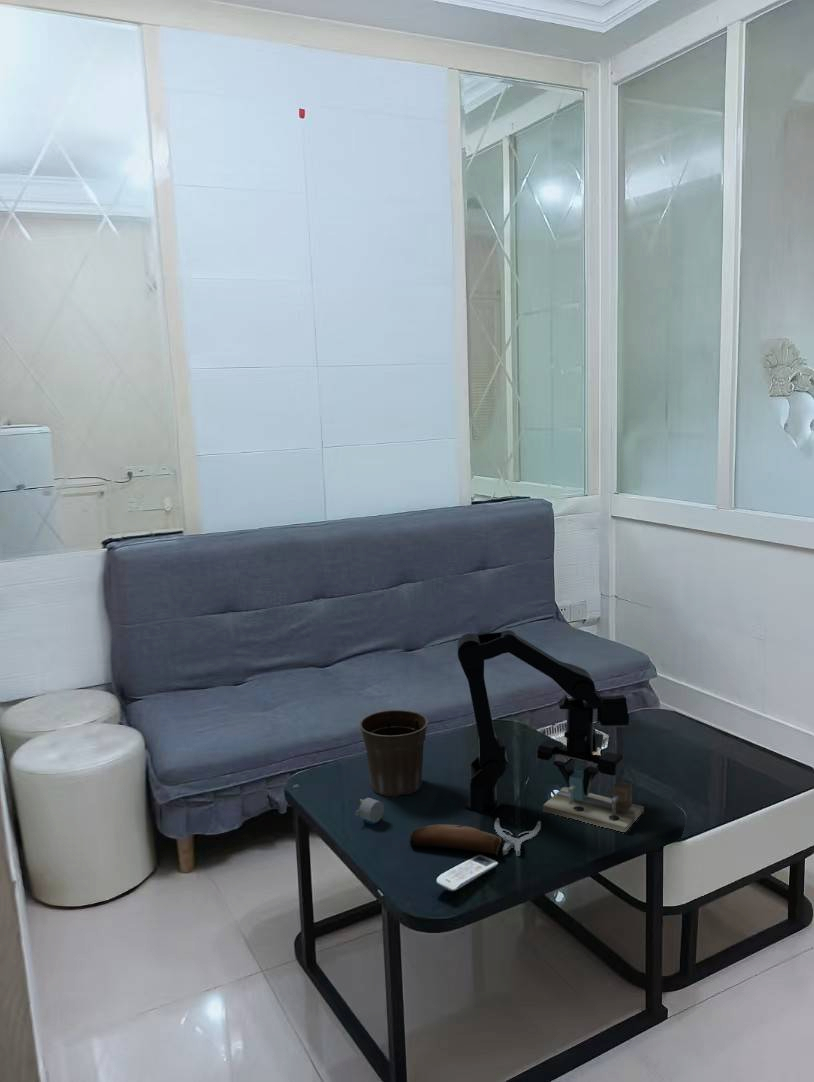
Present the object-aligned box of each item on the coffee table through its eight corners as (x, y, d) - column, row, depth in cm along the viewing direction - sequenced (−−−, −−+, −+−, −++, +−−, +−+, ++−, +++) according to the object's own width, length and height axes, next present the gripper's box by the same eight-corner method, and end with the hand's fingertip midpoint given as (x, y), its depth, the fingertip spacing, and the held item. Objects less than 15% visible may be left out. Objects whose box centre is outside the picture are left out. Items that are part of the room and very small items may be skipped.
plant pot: (415, 806, 195) (413, 738, 193) (350, 796, 201) (348, 730, 199) (439, 776, 210) (437, 713, 208) (378, 768, 216) (376, 707, 214)
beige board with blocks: (625, 833, 180) (625, 802, 179) (542, 811, 191) (542, 781, 189) (643, 812, 189) (644, 782, 187) (564, 792, 199) (564, 764, 198)
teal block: (576, 806, 188) (576, 784, 187) (563, 802, 189) (563, 781, 189) (589, 793, 193) (589, 772, 193) (576, 790, 195) (576, 769, 194)
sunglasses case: (503, 835, 179) (500, 817, 175) (498, 866, 174) (495, 848, 170) (420, 827, 184) (414, 809, 180) (413, 857, 179) (407, 839, 175)
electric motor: (372, 811, 193) (371, 790, 192) (387, 817, 190) (387, 796, 189) (350, 823, 188) (349, 801, 187) (366, 829, 185) (365, 807, 184)
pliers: (541, 817, 185) (535, 852, 171) (541, 824, 186) (536, 860, 171) (495, 814, 188) (486, 848, 173) (496, 820, 188) (486, 855, 174)
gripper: (633, 722, 191) (632, 788, 194) (556, 707, 202) (556, 770, 204) (614, 739, 182) (614, 808, 185) (535, 722, 193) (535, 788, 195)
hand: (579, 792), depth 192 cm, fingers closed on teal block, 3 cm apart
